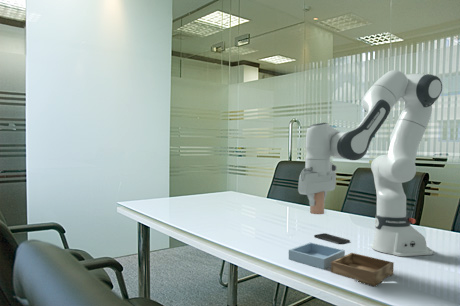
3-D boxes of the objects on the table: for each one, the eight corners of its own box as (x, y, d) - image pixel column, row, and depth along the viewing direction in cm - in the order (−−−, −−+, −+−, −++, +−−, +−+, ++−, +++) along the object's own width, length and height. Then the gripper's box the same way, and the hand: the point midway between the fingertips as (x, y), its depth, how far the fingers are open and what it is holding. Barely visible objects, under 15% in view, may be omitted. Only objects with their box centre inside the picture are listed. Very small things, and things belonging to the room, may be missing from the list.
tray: (351, 263, 126) (351, 252, 126) (393, 274, 116) (393, 262, 116) (331, 273, 116) (331, 261, 116) (374, 286, 106) (375, 273, 106)
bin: (310, 252, 139) (310, 242, 139) (344, 261, 129) (344, 250, 129) (288, 260, 129) (288, 249, 129) (323, 271, 119) (324, 259, 119)
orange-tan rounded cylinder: (322, 211, 131) (322, 190, 131) (325, 214, 126) (325, 192, 126) (308, 211, 131) (309, 190, 131) (311, 214, 126) (312, 192, 126)
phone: (324, 233, 167) (350, 240, 155) (324, 235, 167) (350, 242, 155) (313, 235, 163) (339, 242, 151) (313, 237, 163) (339, 245, 151)
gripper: (309, 168, 119) (309, 209, 119) (339, 166, 133) (338, 202, 133) (293, 167, 123) (293, 207, 124) (324, 165, 138) (324, 200, 138)
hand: (317, 204), depth 129 cm, fingers closed on orange-tan rounded cylinder, 5 cm apart
